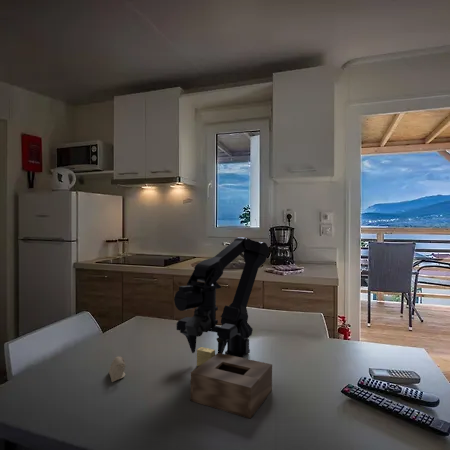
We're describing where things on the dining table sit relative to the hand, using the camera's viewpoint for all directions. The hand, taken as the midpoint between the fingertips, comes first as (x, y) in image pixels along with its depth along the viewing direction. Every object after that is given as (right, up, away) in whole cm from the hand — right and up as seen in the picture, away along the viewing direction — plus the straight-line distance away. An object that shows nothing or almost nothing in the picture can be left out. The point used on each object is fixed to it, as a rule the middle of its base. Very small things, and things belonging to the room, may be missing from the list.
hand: (206, 355), depth 103 cm
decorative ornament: (-25, -3, -8) cm, 26 cm away
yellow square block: (0, -3, 0) cm, 3 cm away
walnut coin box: (+8, -3, -18) cm, 20 cm away
